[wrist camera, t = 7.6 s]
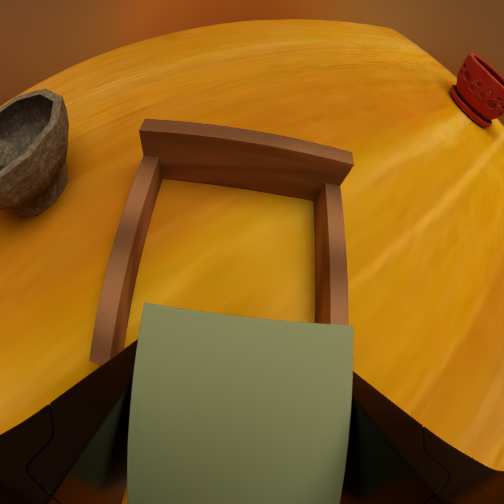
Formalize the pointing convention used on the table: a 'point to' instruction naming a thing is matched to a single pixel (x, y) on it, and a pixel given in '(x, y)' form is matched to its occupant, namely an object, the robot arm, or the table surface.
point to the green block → (238, 410)
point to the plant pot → (479, 91)
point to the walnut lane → (233, 175)
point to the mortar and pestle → (33, 152)
